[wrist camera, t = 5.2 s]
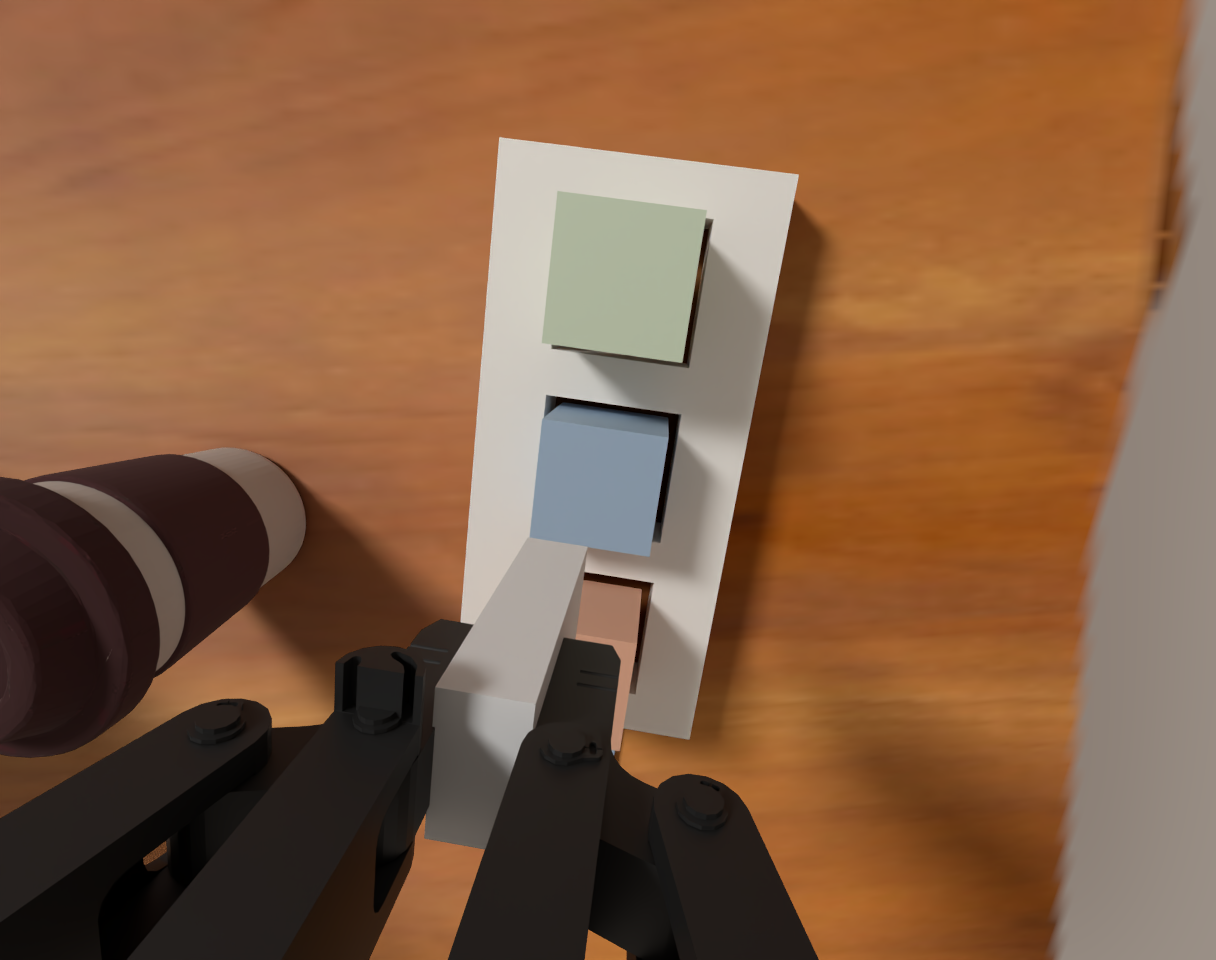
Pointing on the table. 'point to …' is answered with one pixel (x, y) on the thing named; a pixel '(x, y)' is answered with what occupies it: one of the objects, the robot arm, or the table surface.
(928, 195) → the table surface
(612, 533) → the button slate
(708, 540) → the button board
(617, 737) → the button terracotta
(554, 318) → the button sage
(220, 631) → the table surface
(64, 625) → the coffee cup
